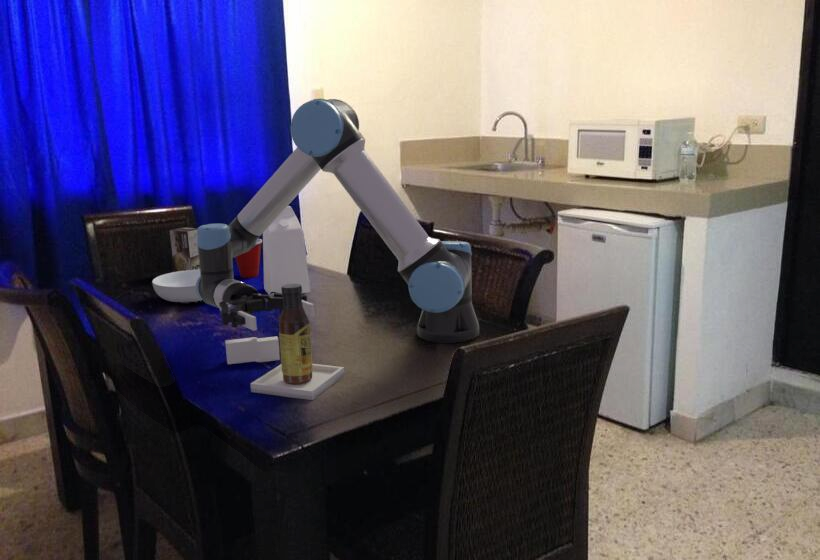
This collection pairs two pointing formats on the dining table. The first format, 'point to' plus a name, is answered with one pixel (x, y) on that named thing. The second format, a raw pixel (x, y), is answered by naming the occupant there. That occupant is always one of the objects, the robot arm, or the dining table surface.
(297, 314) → the sauce bottle
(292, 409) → the dining table surface
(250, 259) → the plastic cup
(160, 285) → the serving bowl
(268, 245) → the milk
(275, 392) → the tray
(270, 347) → the white stepped block
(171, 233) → the coffee box
